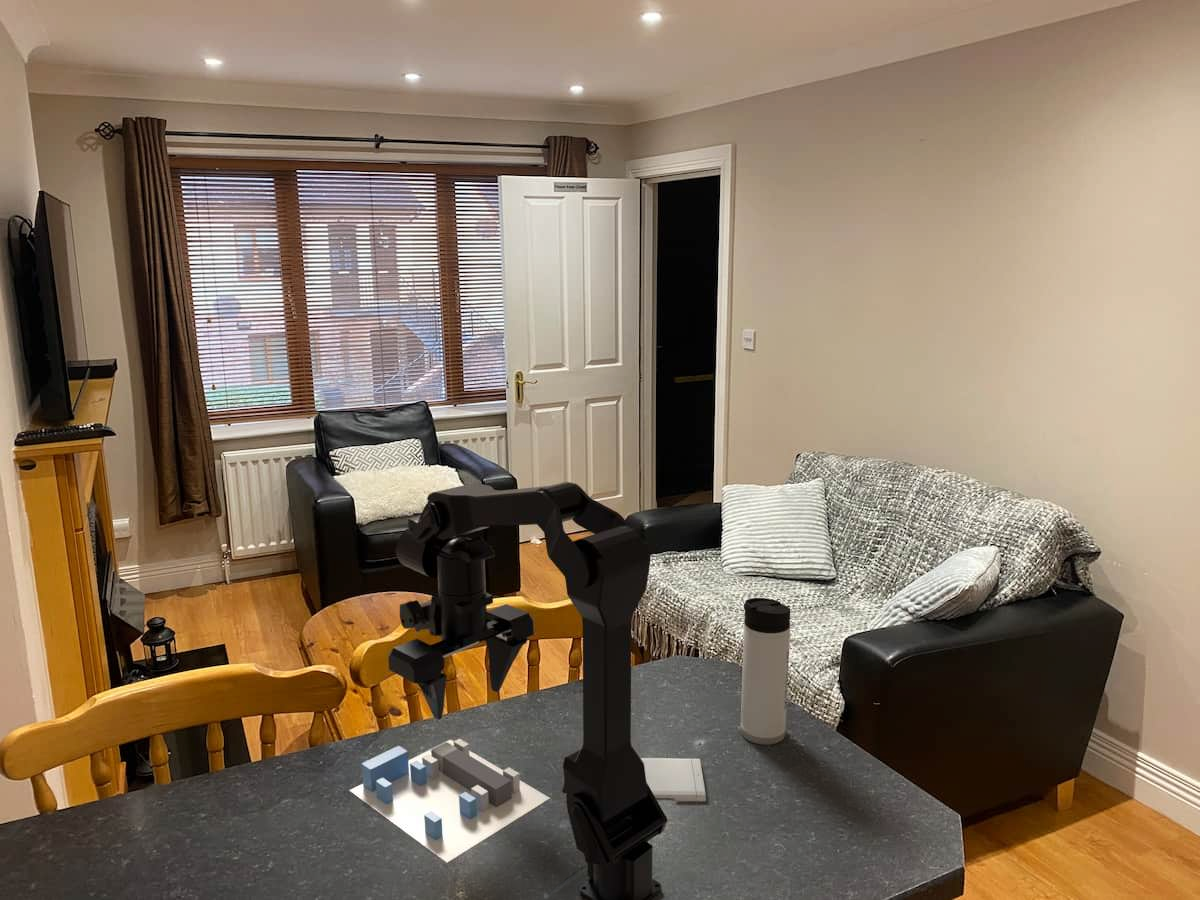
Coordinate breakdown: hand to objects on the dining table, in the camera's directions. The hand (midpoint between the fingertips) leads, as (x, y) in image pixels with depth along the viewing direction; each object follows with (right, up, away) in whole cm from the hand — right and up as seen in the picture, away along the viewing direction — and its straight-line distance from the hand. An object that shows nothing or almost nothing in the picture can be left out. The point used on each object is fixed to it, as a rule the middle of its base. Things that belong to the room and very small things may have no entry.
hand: (467, 704), depth 110 cm
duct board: (-2, -12, 0) cm, 12 cm away
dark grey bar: (0, -11, +2) cm, 11 cm away
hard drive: (+24, -12, +3) cm, 27 cm away
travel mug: (+40, -8, +14) cm, 43 cm away
